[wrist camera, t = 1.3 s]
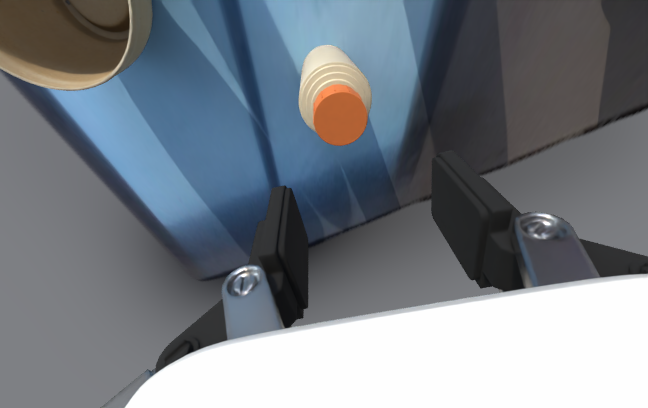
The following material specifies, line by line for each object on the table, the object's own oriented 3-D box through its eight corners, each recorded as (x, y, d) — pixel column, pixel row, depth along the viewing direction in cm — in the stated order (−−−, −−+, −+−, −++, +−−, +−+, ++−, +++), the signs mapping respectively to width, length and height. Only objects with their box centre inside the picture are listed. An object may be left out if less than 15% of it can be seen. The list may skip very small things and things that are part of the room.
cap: (372, 102, 22) (378, 111, 20) (343, 142, 24) (347, 154, 22) (330, 73, 21) (333, 80, 19) (303, 117, 23) (303, 128, 21)
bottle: (361, 65, 36) (401, 104, 20) (333, 108, 38) (349, 171, 23) (319, 33, 33) (327, 51, 18) (292, 81, 36) (281, 131, 21)
